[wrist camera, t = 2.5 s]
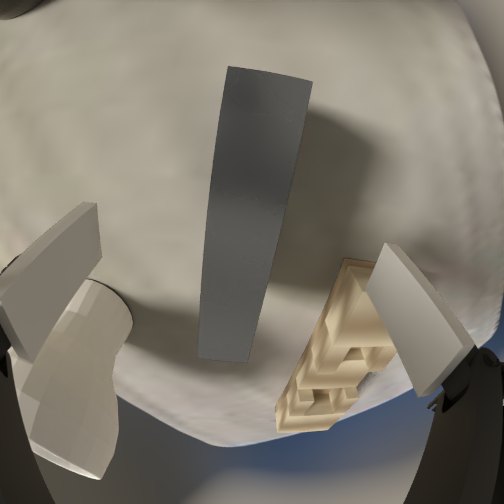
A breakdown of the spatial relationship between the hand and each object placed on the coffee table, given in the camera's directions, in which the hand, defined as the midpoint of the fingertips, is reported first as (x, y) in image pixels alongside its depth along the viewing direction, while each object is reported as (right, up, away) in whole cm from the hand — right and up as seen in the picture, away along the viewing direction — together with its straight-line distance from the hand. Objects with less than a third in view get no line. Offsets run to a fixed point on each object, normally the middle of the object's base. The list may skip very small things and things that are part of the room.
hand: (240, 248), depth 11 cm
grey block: (0, +4, +5) cm, 7 cm away
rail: (+9, -11, +15) cm, 21 cm away
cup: (-14, -6, +11) cm, 19 cm away
